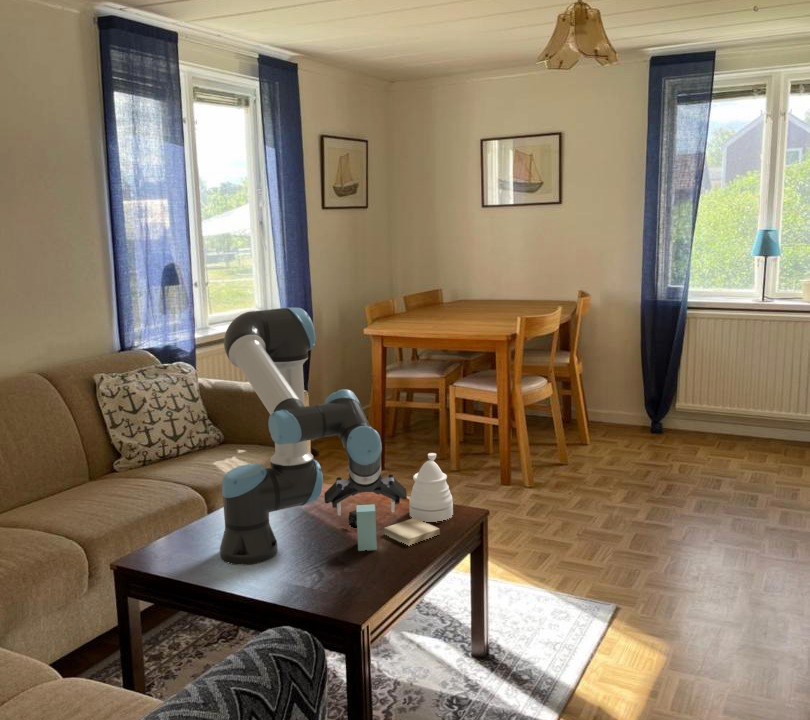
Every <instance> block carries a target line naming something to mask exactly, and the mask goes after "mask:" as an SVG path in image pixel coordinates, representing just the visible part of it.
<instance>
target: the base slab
mask: <svg viewBox="0 0 810 720" xmlns="http://www.w3.org/2000/svg"><path fill="white" fill-rule="evenodd" d="M440 530H441V529H440V527H437V526H435V525H433V524H431V523H426V522H423V521H421V520H419V519H416V518H410V519H407V520H403V521H400V522H397V523H395V524H392V525H388V526H385V527H383V531H384V532H383V533H384V535H385V536H386V535H387V537H388V536H389V537H388V538H391V539H393V540H395V541H397V542H398V543H401V542H402V543H401V544H403V543H404V544H403V545H405V544H406V545H405V546H407V545H408V547H411V546H413V545H412V544H414V545H416V544H415V543H417V544H419V543H418V542H420V541H423V540H425V541H427V540H426V539H428V540H430V539H429V538H431V539H433V538H432V537H434V536H437V535H440V536H441V531H440ZM437 537H438V536H437ZM434 538H435V537H434ZM423 542H424V541H423ZM420 543H421V542H420ZM410 545H411V546H410Z"/></svg>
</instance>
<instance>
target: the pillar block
mask: <svg viewBox="0 0 810 720" xmlns="http://www.w3.org/2000/svg"><path fill="white" fill-rule="evenodd" d="M355 510H356V511H357V530H356V533H357V551H358V552H362V551H363V552H364V551H365V550H367V551H378V544H377V518H376V517H377V516H376V515H377V514H376V504H374V503H371V504H357V505H356V509H355ZM365 552H366V551H365Z"/></svg>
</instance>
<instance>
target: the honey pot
mask: <svg viewBox="0 0 810 720" xmlns="http://www.w3.org/2000/svg"><path fill="white" fill-rule="evenodd" d="M427 458H428V459H429V460H427V461H425V462H424V463H423V464H422V465H421V467H420V468H419V471H418V472H417V473H415V474H413V476H412V479H413V480H414V484H413V486H412V488H411V489H412V490H411V491H410V492H411V495H409V499H408V500H409V517H410V516H411V517H412V518H416V519H419V520H421V521H425V523H426V522H436V523H438V522H437V521H442V522H444V521H443V520H446V521H448V520H450V519H452V517H453V516H454V504H453V503H454V502H453V495H452V494H451V490H450V487H449V484H448V483H447V478H448V475H447V474H446V473H444V472H443V471H442V470H441V468H440V466H439V465H438V464H437V463H436V462H435V460H436V459H437V453H435V452H429V453H428V454H427ZM452 515H453V516H452ZM411 517H410V518H411ZM412 518H411V519H412ZM449 518H450V519H449ZM447 519H448V520H447Z"/></svg>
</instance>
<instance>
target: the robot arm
mask: <svg viewBox="0 0 810 720" xmlns="http://www.w3.org/2000/svg"><path fill="white" fill-rule="evenodd" d="M316 339H317V338H316V330H315V326H314V324H313V320H312V319H311V317H310V315H309V314H308V312H307V311H305V310H304V309H303V308H301V307H288V306H287V307H280V308H272V309H263V310H252V311H251V310H250V311H247V312H244V313H241V314H239V315H238V316H236V317H235V318H234V319H233V320H232V321H231V322H230V324H229V325H228V327H227V329H226V331H225V334H224V339H223V347H224V351H225V355H226V356H227V358H228V360H229V362H230V363H231V365H233V366H234V367H236V368H239V370H241V372H242V373H243V375H244V377H245V378H246V380H247V381H248V383H249V384H250V386H251V387H252V389H253V390H254V392H255V393H256V395H257V396H258V398H259V400H260V401H261V403H262V404H263V405H264V407H265V408H266V410H267V412H268V413H269V417H268V431H269V433H270V438H271V439H272V441H273V442H274V450H275V451H274V454H273V455H272V456H271V457H270V459H269V461H270V466H269V467H267V468H266V466H265V465H263V464H261V463H252V464H250V463H247V464H243V465H240V466H239V465H238V466H236V467H234V468H232V469H230V470H228V471H227V472H226V473H225V474H224V476H223V477H222V479H221V480H222V481H221V484H222V486H221V487H222V488H221V495H222V503H223V504H222V505H223V516H224V518H223V519H224V531H223V535H222V538H221V539H222V540H221V543H220V547H219V553H220V554H219V555H220V559H221V560H222V561H223V560H224V561H223V562H225V561H226V562H225V563H227V562H229V563H228V564H231V563H232V564H231V565H237V564H247V565H255V564H258V563H263V562H266V561H268V560H270V559H272V558H274V557H275V556H276V555H277V554H278V541H277V538H276V536H275V534H274V531H273V529H272V525H271V523H270V513H272V512H276V511H281V510H287V509H291V508H295V507H299V506H300V507H302V506H305V505H306V504H311V503H314V502H316V501H317V500H318V499H319V497H320V496H321V493H322V491H323V490H322V489H323V487H324V477H323V476H324V475H323V471H322V467H321V465H320V463H319V462H318V461H317V460H316V459H314V455H313V454H312V453H311V452H309V450H308V441H311V440H315V439H321V438H327V437H333V436H338V438H339V439H340V442H341V443H342V445H343V448H344V450H345V452H346V455H347V461H348V479H346V480H344V479H342V477H341V476H338V477H336V480H335V482H334V483H333V484H332V485H331V486H330V487H329V488H328V489H327V490H326V491H325V492H324V504H330V503H331V504H332V508H333V509H334V508H336V509H337V516H341V515H342V513H341V512H342V510H341V509H342V508H341V502H342V501H344V500H345V499H347V498H348V497H351V496H352V497H353V496H356V495H358V494H360V493H374V494H377V495H383V496H384V497H386V498H389V499H390V509H391V512H390V513H391V514H392V513H395V507H396V505H400V503H401V502H400V501H401V500H400V499H402V500H407V499H408V496H407V495H408V494H407V488H405V487H404V485H402V484H401V483H400V482H399V481H398V480H396V478H395V476H394V475H393V474H388V476H387V477H384V478H383V476H382V450H383V447H382V445H383V443H382V440H381V436H380V434H379V432H378V431H377V430H376V429H374V428H373V427H372V426H371V424H370V423H369V421H368V417H367V415H366V414H365V411H364V409H363V405H362V403H360V401H359V399H358V397H357V396H356V394H355V392H353V390H350V389H345V388H344V389H339V390H337V391H336V392H332V393H331V394H329V395H328V396H327V398H326V399H325V401H324V403H321V404H320V403H319V404H313V405H306V403H305V401H306V400H305V385H304V382H305V380H304V366H303V365H304V364H305V362H306V361H307V360H308V359H309V353H308V352H309V351H311V350H313V349H314V348H315V345H316V344H315V343H316Z"/></svg>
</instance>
